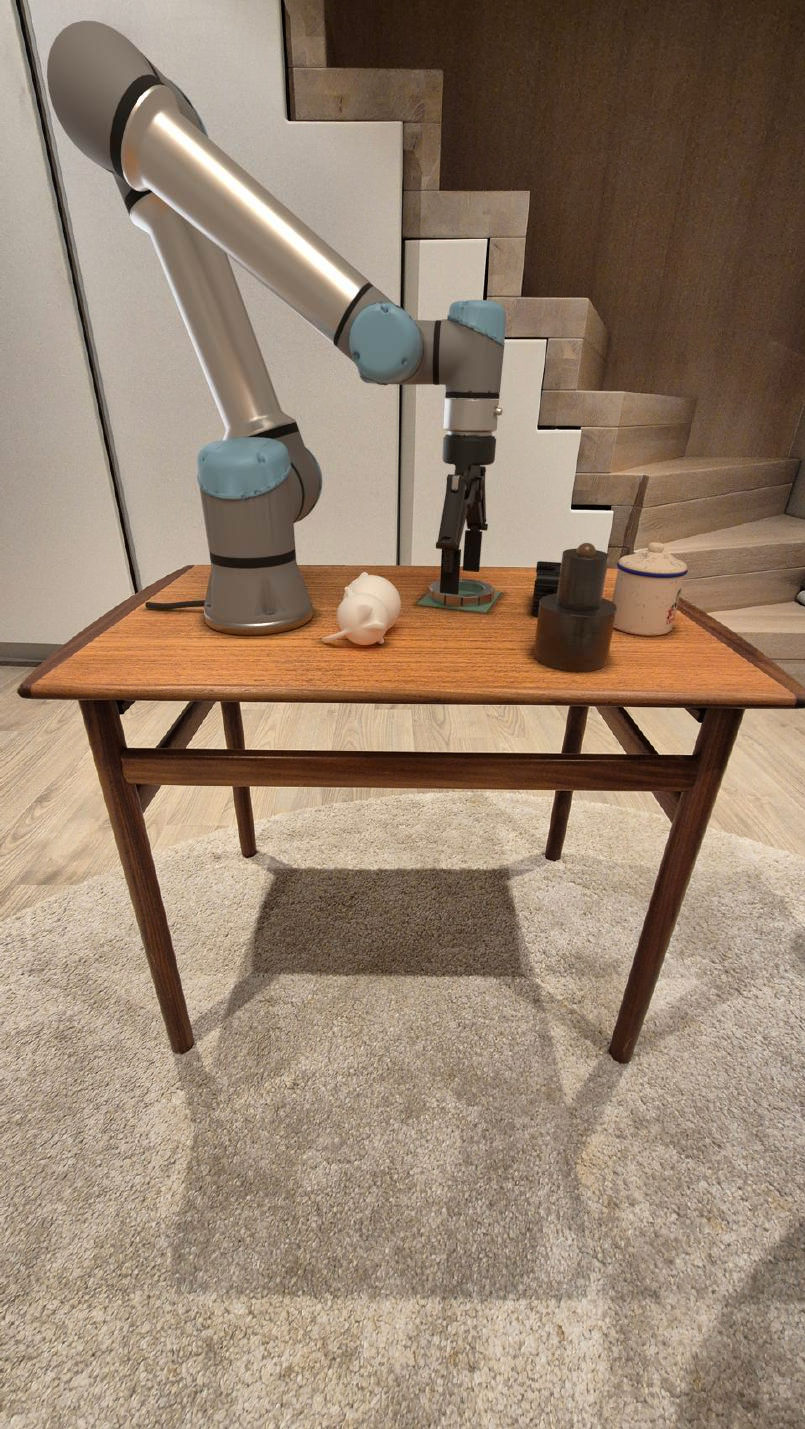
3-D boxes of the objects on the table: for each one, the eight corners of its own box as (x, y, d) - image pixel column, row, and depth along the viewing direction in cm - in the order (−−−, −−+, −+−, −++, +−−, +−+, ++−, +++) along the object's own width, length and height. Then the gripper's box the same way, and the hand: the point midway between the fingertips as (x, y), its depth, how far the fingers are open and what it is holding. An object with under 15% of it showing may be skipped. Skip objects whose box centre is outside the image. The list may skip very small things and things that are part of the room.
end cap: (581, 621, 87) (588, 575, 84) (531, 617, 88) (537, 572, 85) (577, 601, 96) (584, 558, 93) (532, 597, 97) (537, 555, 94)
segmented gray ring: (421, 602, 93) (421, 592, 92) (439, 585, 102) (440, 576, 101) (485, 610, 90) (486, 600, 90) (499, 592, 99) (499, 582, 98)
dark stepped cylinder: (528, 666, 73) (542, 548, 66) (538, 640, 80) (552, 532, 74) (604, 677, 70) (627, 555, 63) (608, 649, 78) (629, 538, 71)
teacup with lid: (680, 639, 81) (701, 553, 76) (610, 634, 83) (626, 549, 77) (661, 611, 92) (679, 533, 86) (600, 607, 93) (614, 531, 87)
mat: (417, 605, 93) (417, 603, 93) (437, 586, 102) (437, 584, 102) (486, 613, 90) (486, 611, 90) (501, 593, 99) (501, 591, 99)
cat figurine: (364, 581, 70) (384, 554, 81) (295, 622, 75) (322, 591, 85) (403, 642, 74) (417, 608, 84) (335, 678, 78) (356, 641, 88)
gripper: (475, 440, 73) (464, 607, 83) (512, 430, 94) (499, 565, 104) (417, 437, 75) (413, 600, 85) (465, 428, 96) (457, 560, 106)
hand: (460, 581), depth 95 cm, fingers open, 13 cm apart
